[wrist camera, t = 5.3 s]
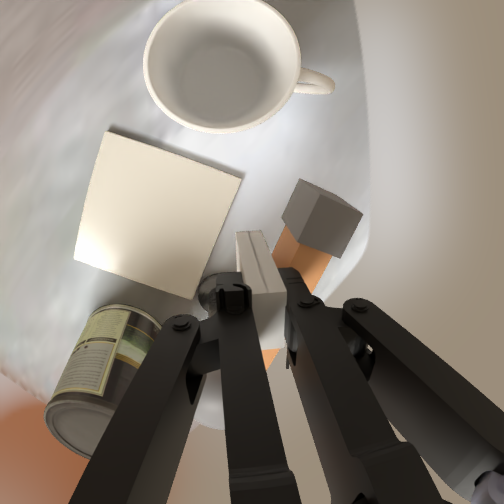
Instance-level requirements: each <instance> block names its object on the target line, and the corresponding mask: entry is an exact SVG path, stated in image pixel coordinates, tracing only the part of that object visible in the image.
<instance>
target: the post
mask: <svg viewBox="0 0 504 504" xmlns="http://www.w3.org/2000/svg"><path fill="white" fill-rule="evenodd" d="M218 275H219V274H214V275H211V276H209V277H207V278H206V279H205V280H204V281H203V282H202V283H201V285H200V287H199V295H198V298H199V302H200V304H201V306H202V307H203V308H204V309H205V310H206V311H208V318H210V317H212V316H213V315H214V314H215V313H216V311H217V305H216V293H215V292H216V278H217V276H218Z"/></svg>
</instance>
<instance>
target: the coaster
mask: <svg viewBox="0 0 504 504" xmlns="http://www.w3.org/2000/svg"><path fill="white" fill-rule="evenodd" d="M241 180H242V179H241V178H239V177H236V176H234V175H231V174H228V173H226V172H223V171H221V170H218V169H215V168H213V167H210V166H207V165H205V164H202V163H199V162H197V161H194V160H191V159H188V158H186V157H183V156H180V155H177V154H175V153H172V152H169V151H166V150H163V149H160V148H158V147H155V146H152V145H149V144H146V143H143V142H140V141H137V140H134V139H131V138H128V137H125V136H122V135H119V134H116V133H112V132H109V131H105V134H104V137H103V140H102V143H101V146H100V149H99V153H98V156H97V159H96V163H95V166H94V170H93V173H92V177H91V181H90V184H89V188H88V192H87V196H86V200H85V204H84V209H83V213H82V218H81V222H80V227H79V232H78V237H77V242H76V248H75V253H74V259H76V260H79V261H81V262H84V263H87V264H89V265H92V266H95V267H97V268H100V269H103V270H105V271H108V272H111V273H114V274H116V275H119V276H122V277H125V278H128V279H130V280H133V281H136V282H139V283H142V284H145V285H148V286H150V287H153V288H156V289H159V290H162V291H165V292H168V293H171V294H174V295H177V296H180V297H184V298H187V299H190V300H192V299H193V297H194V294H195V292H196V289H197V287H198V284H199V281H200V279H201V276H202V274H203V271H204V269H205V266H206V264H207V262H208V259H209V257H210V254H211V252H212V249H213V247H214V244H215V242H216V239H217V237H218V235H219V232H220V230H221V227H222V225H223V223H224V220H225V218H226V215H227V213H228V211H229V208H230V206H231V204H232V201H233V199H234V196H235V194H236V192H237V189H238V187H239V185H240V183H241Z"/></svg>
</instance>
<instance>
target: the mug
mask: <svg viewBox="0 0 504 504" xmlns="http://www.w3.org/2000/svg"><path fill="white" fill-rule="evenodd" d="M143 71H144V78H145V82H146V85H147V88H148V90H149V92H150V94H151V96H152V98H153V99H154V101H155V102H156V104H157V105H158V106H159V107H160V109H161V110H162V111H163V112H164V113H165V114H167V115H168V116H169V117H170V118H172V119H173V120H175V121H176V122H178V123H180V124H181V125H183V126H186V127H188V128H191V129H194V130H197V131H201V132H206V133H215V134H225V133H234V132H239V131H243V130H247V129H250V128H252V127H255V126H257V125H259V124H261V123H263V122H265V121H266V120H268V119H269V118H271V117H272V116H273V115H275V114H276V113H277V112H278V111H279V110H280V109H281V108H282V107H283V106H284V105H285V104H286V102H287V101H288V100H289V98H290V97H291V95H292V93H293V92H295V93H305V94H330V93H332V92H333V91H334V89H335V83H334V81H333V80H332V79H331V78H330V77H328V76H326V75H324V74H321V73H318V72H316V71H312V70H309V69H306V68H302V67H301V52H300V47H299V43H298V40H297V37H296V35H295V33H294V31H293V29H292V27H291V26H290V24H289V23H288V21H287V20H286V19H285V18H284V17H283V16H282V15H281V14H280V13H279V12H278V11H277V10H276V9H275V8H273V7H272V6H271V5H269V4H268V3H266V2H264V1H262V0H185V1H184V2H182V3H180V4H178V5H177V6H175V7H174V8H172V9H171V10H170V11H169V12H168V13H166V14H165V15H164V16H163V17H162V19H161V20H160V21H159V22H158V23H157V25H156V26H155V28H154V29H153V31H152V33H151V34H150V36H149V39H148V41H147V44H146V47H145V51H144V58H143ZM298 81H302V82H307V83H311V84H304V83H297V82H298Z"/></svg>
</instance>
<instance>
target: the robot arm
mask: <svg viewBox="0 0 504 504" xmlns="http://www.w3.org/2000/svg"><path fill="white" fill-rule="evenodd" d="M235 238H236V262H237V272H227V273H220V274H219V275H218V276H217V278H216V292H215V293H216V305H217V311H216V313H215V314H214V315H213V316H212V317H210V318H208V319H206V320H203V321H198V319H197V318H196V317H194V316H192V315H187V314H183V315H176V316H173V317H171V318H169V319H168V320H167V321H166V322H165V323H164V324H163V326H162V328H161V330H160V331H159V333H158V335H157V337H156V338H155V340H154V342H153V344H152V345H151V347H150V349H149V351H148V352H147V354H146V356H145V358H144V360H143V361H142V363H141V365H140V367H139V369H138V370H137V372H136V374H135V376H134V378H133V379H132V381H131V383H130V385H129V387H128V389H127V390H126V392H125V394H124V396H123V398H122V400H121V401H120V403H119V405H118V407H117V409H116V411H115V413H114V414H113V416H112V418H111V420H110V422H109V424H108V426H107V428H106V430H105V432H104V433H103V435H102V437H101V439H100V441H99V443H98V445H97V447H96V449H95V451H94V453H93V455H92V457H91V459H90V461H89V463H88V465H87V467H86V469H85V471H84V473H83V475H82V477H81V479H80V481H79V483H78V485H77V487H76V489H75V491H74V493H73V495H72V497H71V499H70V501H69V503H68V504H166V503H167V499H168V496H169V493H170V490H171V487H172V484H173V480H174V477H175V474H176V471H177V468H178V465H179V462H180V459H181V456H182V453H183V449H184V446H185V443H186V440H187V437H188V434H189V431H190V428H191V425H192V421H193V418H194V415H195V412H196V409H197V406H198V403H199V400H200V397H201V394H202V391H203V387H204V384H205V381H206V378H207V373H210V372H213V371H216V370H219V369H220V370H221V385H222V399H223V412H224V424H225V436H226V447H227V458H228V469H229V487H230V497H231V504H302V503H301V499H300V496H299V491H298V487H297V483H296V480H295V476H294V474H293V472H292V471H291V470H289V468H288V464H287V460H286V456H285V452H284V447H283V443H282V439H281V434H280V430H279V426H278V422H277V417H276V413H275V408H274V404H273V400H272V395H271V391H270V387H269V382H268V378H267V373H266V368H265V364H264V359H263V355H262V351H261V350H268V349H277V348H284V344H285V340H286V343H287V359H286V369H289V364H290V366H291V370H292V373H293V376H294V379H295V382H296V385H297V389H298V392H299V395H300V398H301V401H302V405H303V407H304V411H305V414H306V417H307V420H308V423H309V427H310V430H311V433H312V436H313V439H314V443H315V446H316V449H317V452H318V455H319V458H320V462H321V465H322V468H323V471H324V474H325V477H326V481H327V484H328V487H329V490H330V494H331V504H452V503H450V502H447V501H446V500H443V499H442V498H441V496H440V494H439V492H438V490H437V488H436V486H435V484H434V482H433V480H432V478H431V476H430V474H429V472H428V470H427V468H426V466H425V464H424V463H423V461H422V459H421V457H422V458H423V459H424V460H425V461H426V462H427V463H428V465H429V466H430V467H431V468H432V469H433V470H434V471H435V472H436V473H437V474H438V476H439V477H440V478H441V479H442V480H443V481H444V482H445V483H446V484H447V485H448V486H449V487H450V488H451V489H452V490H453V491H455V492H456V493H457V494H459V495H460V496H462V497H463V498H465V499H466V500H468V501H470V502H471V504H504V412H503V411H502V410H501V409H500V408H498V407H497V406H496V405H495V404H494V403H493V402H492V401H490V400H489V399H488V398H487V397H486V396H485V395H484V394H482V393H481V392H480V391H479V390H478V389H477V388H475V387H474V386H473V385H472V384H471V383H470V382H468V381H467V380H466V379H465V378H464V377H463V376H461V375H460V374H459V373H458V372H457V371H455V370H454V369H453V368H452V367H451V366H449V365H448V364H447V363H446V362H444V360H442V359H441V358H440V357H439V356H437V355H436V354H435V353H434V352H433V351H431V350H430V349H429V348H428V347H427V346H425V345H424V344H423V343H422V342H421V341H419V340H418V339H417V338H416V337H414V336H413V335H412V334H411V333H410V332H408V331H407V330H406V329H405V328H403V327H402V326H401V325H400V324H398V323H397V322H396V321H395V320H393V319H392V318H391V317H390V316H388V315H387V314H386V313H385V312H383V311H382V310H381V309H380V308H378V307H377V306H376V305H374V304H373V303H372V302H370V301H368V300H365V299H362V298H353V299H349V300H347V301H345V303H344V304H343V308H332V307H326V306H325V304H324V303H323V301H322V300H321V299H320V298H318V297H316V296H314V295H312V294H311V293H310V291H309V289H308V287H307V285H306V283H305V282H304V280H303V278H302V276H301V274H300V272H299V271H297V270H296V269H294V268H293V267H286V268H277V267H276V265H275V262H274V260H273V258H272V255H271V253H270V251H269V248H268V246H267V244H266V241H265V239H264V237H263V234H262V232H261V230H260V231H243V232H235ZM368 345H370V347H372V349H373V351H372V352H371V351H370V350H369V349H368V348H367V347H368ZM387 419H388V420H389V421H390V422H391V424H392V425H393V426H394V427H395V428H396V429H397V430H398V431H399V432H400V434H401V435H402V436H403V437H404V438H405V439H406V440H407V441H408V442H401V441H399V440H398V438H397V437H396V435H395V433H394V431H393V429H392V427H391V425H390V424H389V421H388V420H387ZM420 456H421V457H420Z"/></svg>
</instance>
